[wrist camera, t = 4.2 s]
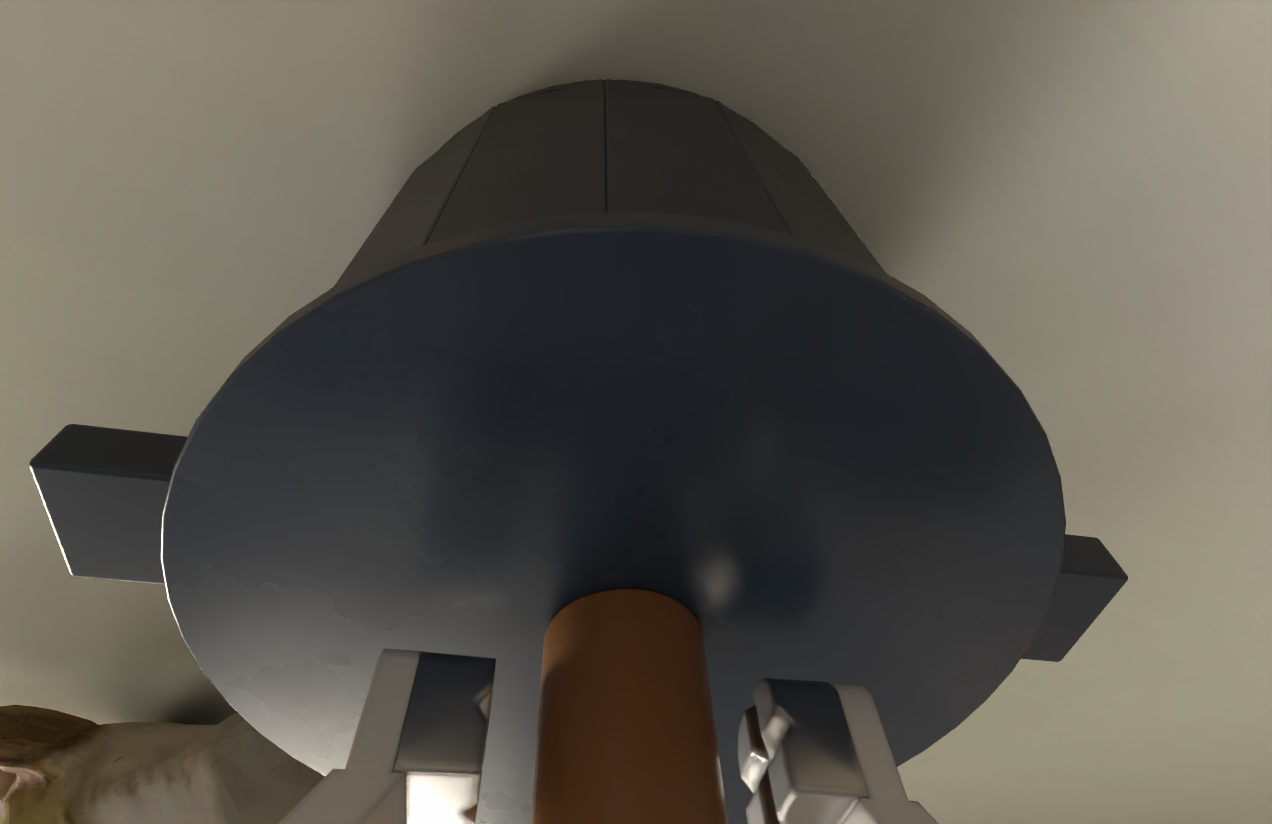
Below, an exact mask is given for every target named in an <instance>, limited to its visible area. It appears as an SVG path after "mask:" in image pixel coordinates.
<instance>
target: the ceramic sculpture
mask: <svg viewBox="0 0 1272 824" xmlns="http://www.w3.org/2000/svg"><path fill="white" fill-rule="evenodd" d="M324 777H325V776H324V775H322V774H320V773H319V772H317V771H315V770H314V769H312V768H310V767H308V766H307V765H305V764H303V763H302V762H300V761H298V760H297V759H295V758H293V757H292V756H290V755H289V754H288V753H286V752H285V751H284V750H282V749H281V748H280V747H278V746H277V745H275V744H274V743H273V742H271V741H270V740H269V739H267V738H266V737H265V736H263V735H262V734H260V733H259V732H258V731H257V730H256V729H255V728H254V727H253V726H252V725H251V724H250V723H248V722H247V721H246V720H245V719H244V718H243V717H242V716H241V715H240V714H239V713H238V712H236V713H235V714H233V715H231V716H230V717H228V718H227V719H225V720H224V721H222V722H221V723H219V724H218V725H185V724H179V723H161V722H126V723H111V724H103V725H97V724H96V723H94V722H92V721H90V720H87V719H83V718H80V717H77V716H73V715H70V714H66V713H63V712H59V711H55V710H50V709H44V708H39V707H31V706H21V705H11V706H1V707H0V800H2V805H3V806H2V814H1V817H0V824H278V823H279V822H280V821H281V820H282V819H283V818H284V817H285V816H286V815H287V814H288V813H289V812H290V811H291V810H292V809H293V808H294V807H295V806H296V805H297V804H298V803H299V802H300V801H301V800H302V799H303V798H304V797H305V796H306V795H307V794H308V793H309V792H310V791H311V790H312V789H313V788H314V787H315V786H316V785H317V784H318V783H319V782H320V781H321V780H322V779H323V778H324Z"/></svg>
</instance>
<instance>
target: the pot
mask: <svg viewBox="0 0 1272 824" xmlns="http://www.w3.org/2000/svg"><path fill="white" fill-rule="evenodd" d="M616 212H656V213H666V214H676V215H686V216H696V217H706V218H717V219H726V220H730V221H735V222H739V223H743V224H747V225H752V226H756V227H760V228H765V229H769V230H773V231H777V232H782V233H786V234H790V235H794V236H799V237H802V238H804V239H807V240H810V241H812V242H815V243H817V244H820V245H823V246H825V247H828V248H830V249H833V250H835V251H838V252H841V253H843V254H846V255H848V256H851V257H854V258H856V259H859V260H861V261H864V262H867V263H868V264H870V265H872V266H874V267H875V268H877V269H879V270H881V271H882V272H884V273H886V272H885V271H884V270H883V268H882V267H881V266H880V264H879V263H878V262H877V260H876V259H875V258H874V257H873V255H872V254H871V253H870V251H869V250H868V249H867V247H866V246H865V245H864V243H863V242H862V241H861V239H860V238H859V237H858V235H857V234H856V233H855V231H854V230H853V229H852V228H851V226H850V225H849V224H848V222H847V221H846V220H845V218H844V217H843V216H842V214H841V213H840V212H839V210H838V209H837V208H836V206H835V205H834V204H833V203H832V201H831V200H830V199H829V197H828V196H827V195H826V193H825V192H824V191H823V189H822V188H821V187H820V185H819V184H818V183H817V181H816V180H815V179H814V177H813V176H812V175H811V174H810V172H809V171H808V170H807V168H806V167H805V166H804V164H803V163H802V162H801V161H800V160H799V159H798V157H796V156H795V155H793V154H792V153H791V152H789V151H788V150H786V149H785V148H784V147H782V146H781V145H780V144H778V143H777V142H776V141H775V140H774V139H772V138H771V137H770V136H769V135H768V134H766V133H765V132H764V131H763V130H761V129H760V128H759V127H758V126H757V125H755V124H754V123H752V122H751V121H749V120H747V119H746V118H744V117H742V116H741V115H739V114H737V113H736V112H734V111H733V110H731V109H729V108H728V107H726V106H724V105H723V104H721V103H720V102H719V101H714V100H713V99H712V98H707V97H702V96H700V95H698V94H695V93H692V92H689V91H685V90H681V89H677V88H673V87H670V86H666V85H662V84H657V83H648V82H640V81H631V80H611V79H607V80H601V79H600V80H588V81H581V82H575V83H569V84H563V85H557V86H552V87H548V88H545V89H542V90H539V91H536V92H533V93H530V94H526V95H523V96H520V97H517V98H515V99H513V100H511V101H509V102H506V103H502V104H499V105H497V107H492V108H491V109H490V110H488V111H487V112H486V113H485V114H483V115H482V116H480V117H479V118H477V119H476V120H475V121H473V122H472V123H470V124H469V125H467V126H466V127H464V128H463V129H461V130H460V131H459V132H457V133H456V134H455V135H454V136H453V137H452V138H451V139H450V140H449V141H448V142H446V143H445V144H444V145H443V146H442V147H441V148H440V149H439V150H438V151H437V152H436V153H435V154H434V155H432V156H431V157H430V158H429V159H427V160H426V161H425V162H424V163H422V164H421V165H420V166H419V167H417V168H416V169H415V171H414V172H413V173H412V174H411V176H410V177H409V179H408V180H407V182H406V183H405V184H404V186H403V187H402V189H401V190H400V192H399V193H398V195H397V196H396V197H395V199H394V200H393V202H392V203H391V205H390V206H389V208H388V209H387V210H386V212H385V213H384V215H383V216H382V218H381V219H380V221H379V222H378V223H377V225H376V226H375V228H374V229H373V231H372V232H371V234H370V235H369V236H368V238H367V239H366V241H365V242H364V244H363V245H362V247H361V248H360V249H359V251H358V252H357V254H356V255H355V257H354V258H353V260H352V261H351V262H350V264H349V265H348V267H347V268H346V270H345V271H344V273H343V274H342V275H341V277H340V278H339V280H338V281H337V283H336V284H335V286H336V285H338V284H339V283H341V282H342V281H344V280H345V279H347V278H349V277H352V276H354V275H356V274H358V273H360V272H363V271H365V270H367V269H369V268H371V267H373V266H376V265H378V264H380V263H382V262H384V261H387V260H389V259H391V258H393V257H395V256H398V255H400V254H402V253H404V252H406V251H408V250H411V249H413V248H417V247H420V246H423V245H427V244H430V243H433V242H437V241H440V240H443V239H447V238H450V237H453V236H457V235H460V234H463V233H467V232H470V231H473V230H477V229H480V228H483V227H487V226H494V225H500V224H506V223H512V222H519V221H525V220H531V219H537V218H544V217H550V216H556V215H562V214H583V213H616ZM335 286H334V287H335ZM187 438H188V437H185V436H176V435H167V434H158V433H149V432H140V431H131V430H122V429H113V428H104V427H96V426H87V425H78V424H70V425H67V426H65V427H64V428H63V429H62V430H61V431H60V432H59V433H58V434H57V435H56V436H55V437H54V438H53V439H52V440H51V441H50V442H49V443H48V444H47V445H46V446H45V447H44V448H43V449H42V450H41V451H40V452H39V453H38V454H37V455H36V456H35V457H34V458H33V459H32V460H31V461H30V464H29V467H30V470H31V473H32V475H33V478H34V480H35V483H36V486H37V488H38V491H39V493H40V496H41V499H42V501H43V504H44V506H45V509H46V512H47V514H48V517H49V520H50V522H51V525H52V527H53V530H54V533H55V535H56V538H57V540H58V543H59V546H60V548H61V551H62V553H63V556H64V559H65V561H66V564H67V566H68V569H69V572H70V574H71V575H72V576H75V577H83V578H94V579H106V580H118V581H129V582H141V583H153V584H164V585H165V580H164V574H163V568H162V563H161V536H162V511H163V507H164V503H165V499H166V495H167V491H168V487H169V483H170V479H171V475H172V471H173V467H174V465H175V463H176V460H177V458H178V456H179V454H180V452H181V450H182V448H183V446H184V444H185V442H186V440H187ZM1127 580H1128V576H1127V575H1126V573H1125V572H1124V571H1123V569H1122V568H1121V567H1120V566H1119V564H1118V563H1117V562H1116V560H1115V559H1114V558H1113V557H1112V555H1111V554H1110V553H1109V551H1108V550H1107V549H1106V547H1105V546H1104V545H1103V544H1102V542H1101V541H1100V540H1099V539H1098V538H1094V537H1085V536H1076V535H1067V534H1065V539H1064V550H1063V562H1062V566H1061V570H1060V574H1059V577H1058V581H1057V584H1056V588H1055V591H1054V595H1053V599H1052V602H1051V604H1050V606H1049V608H1048V610H1047V613H1046V615H1045V617H1044V619H1043V621H1042V623H1041V625H1040V627H1039V629H1038V632H1037V634H1036V636H1035V638H1034V639H1033V641H1032V642H1031V644H1030V645H1029V647H1028V648H1027V650H1026V651H1025V653H1024V654H1023V656H1022V657H1021V659H1031V660H1043V661H1054V662H1059V661H1061V660H1062V659H1063V658H1064V656H1065V655H1066V654H1067V653H1068V651H1069V650H1070V649H1071V648H1072V647H1073V645H1074V644H1075V643H1076V642H1077V641H1078V639H1079V638H1080V637H1081V636H1082V635H1083V633H1084V632H1085V631H1086V630H1087V629H1088V627H1089V626H1090V625H1091V624H1092V622H1093V621H1094V620H1095V619H1096V618H1097V616H1098V615H1099V614H1100V613H1101V612H1102V610H1103V609H1104V608H1105V607H1106V606H1107V604H1108V603H1109V602H1110V601H1111V599H1112V598H1113V597H1114V596H1115V595H1116V593H1117V592H1118V591H1119V590H1120V589H1121V587H1122V586H1123V585H1124V584H1125V583H1126V581H1127Z"/></svg>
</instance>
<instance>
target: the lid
mask: <svg viewBox="0 0 1272 824" xmlns="http://www.w3.org/2000/svg"><path fill="white" fill-rule="evenodd" d="M1065 527H1066V519H1065V510H1064V502H1063V493H1062V485H1061V477H1060V474H1059V471H1058V468H1057V465H1056V462H1055V459H1054V456H1053V453H1052V450H1051V447H1050V444H1049V441H1048V438H1047V435H1046V433H1045V431H1044V429H1043V427H1042V426H1041V424H1040V422H1039V421H1038V419H1037V417H1036V415H1035V414H1034V412H1033V410H1032V409H1031V407H1030V405H1029V403H1028V402H1027V400H1026V398H1025V396H1024V395H1023V393H1022V391H1021V390H1020V389H1019V387H1018V386H1017V385H1016V384H1015V383H1014V382H1013V380H1012V379H1011V378H1010V377H1009V376H1008V375H1007V373H1006V372H1005V371H1004V370H1003V369H1002V368H1001V367H1000V365H999V364H998V363H997V362H996V361H995V360H994V359H993V357H992V356H991V355H990V354H989V353H988V352H987V351H986V349H985V348H984V347H983V346H982V345H981V344H980V343H979V341H978V340H977V339H976V338H975V337H974V336H973V335H972V333H971V332H969V331H968V330H967V329H966V328H964V327H963V326H962V325H961V324H959V323H958V322H957V321H956V320H954V319H953V318H952V317H951V316H949V315H948V314H947V313H946V312H945V311H943V310H942V309H941V308H940V307H938V306H937V305H936V304H935V303H933V302H932V301H931V300H930V299H928V298H927V297H926V296H925V295H923V294H921V293H920V292H918V291H916V290H914V289H912V288H911V287H909V286H907V285H905V284H904V283H902V282H900V281H898V280H897V279H895V278H893V277H891V276H890V275H888V274H886V273H884V272H882V271H881V270H879V269H877V268H875V267H874V266H872V265H870V264H868V263H867V262H864V261H861V260H859V259H856V258H854V257H851V256H848V255H846V254H843V253H841V252H838V251H835V250H833V249H830V248H828V247H825V246H823V245H820V244H817V243H815V242H812V241H810V240H807V239H804V238H802V237H799V236H794V235H790V234H786V233H782V232H777V231H773V230H769V229H765V228H760V227H756V226H752V225H747V224H743V223H739V222H735V221H730V220H726V219H717V218H706V217H696V216H686V215H676V214H666V213H656V212H616V213H583V214H562V215H556V216H550V217H544V218H537V219H531V220H525V221H519V222H512V223H506V224H500V225H494V226H487V227H483V228H480V229H477V230H473V231H470V232H467V233H463V234H460V235H457V236H453V237H450V238H447V239H443V240H440V241H437V242H433V243H430V244H427V245H423V246H420V247H417V248H413V249H411V250H408V251H406V252H404V253H402V254H400V255H398V256H395V257H393V258H391V259H389V260H387V261H384V262H382V263H380V264H378V265H376V266H373V267H371V268H369V269H367V270H365V271H363V272H360V273H358V274H356V275H354V276H352V277H349V278H347V279H345V280H344V281H342V282H341V283H339V284H338V285H336V286H335V287H333V288H332V289H330V290H328V291H327V292H325V293H324V294H322V295H321V296H319V297H318V298H316V299H315V300H313V301H312V302H310V303H309V304H307V305H306V306H304V307H302V308H301V309H299V310H298V311H296V312H295V313H293V314H292V315H290V316H289V317H288V318H287V319H286V320H285V321H283V322H282V323H281V324H280V325H279V326H278V327H277V328H276V329H275V330H274V331H273V332H271V333H270V334H269V335H268V336H267V337H266V338H265V339H264V340H263V341H262V342H261V343H259V344H258V345H257V346H256V347H255V348H254V349H253V350H252V351H251V352H250V353H249V354H247V355H246V356H245V357H244V358H243V360H242V361H241V362H240V363H239V365H238V366H237V367H236V369H235V370H234V371H233V372H232V374H231V375H230V376H229V378H228V379H227V380H226V382H225V383H224V384H223V385H222V387H221V388H220V389H219V391H218V392H217V393H216V395H215V396H214V397H213V399H212V400H211V401H210V403H209V404H208V405H207V407H206V408H205V409H204V410H203V412H202V413H201V414H200V416H199V417H198V418H197V420H196V422H195V424H194V426H193V428H192V430H191V432H190V434H189V436H188V438H187V440H186V442H185V444H184V446H183V448H182V450H181V452H180V454H179V456H178V458H177V460H176V463H175V465H174V467H173V471H172V475H171V479H170V483H169V487H168V491H167V495H166V499H165V503H164V507H163V511H162V536H161V563H162V568H163V574H164V580H165V585H166V591H167V597H168V601H169V604H170V606H171V609H172V612H173V614H174V617H175V619H176V622H177V625H178V627H179V630H180V632H181V635H182V638H183V640H184V641H185V643H186V645H187V646H188V648H189V650H190V651H191V653H192V655H193V656H194V658H195V660H196V661H197V663H198V665H199V666H200V668H201V670H202V671H203V673H204V674H205V676H206V677H207V678H208V679H209V680H210V682H211V683H212V684H213V685H214V687H215V688H216V689H217V690H218V691H219V693H220V694H221V695H222V696H223V698H224V699H225V700H226V701H227V702H228V704H229V705H230V706H231V707H232V708H233V709H235V710H236V711H237V712H238V713H239V714H240V715H241V716H242V717H243V718H244V719H245V720H246V721H247V722H248V723H250V724H251V725H252V726H253V727H254V728H255V729H256V730H257V731H258V732H259V733H260V734H262V735H263V736H265V737H266V738H267V739H269V740H270V741H271V742H273V743H274V744H275V745H277V746H278V747H280V748H281V749H282V750H284V751H285V752H286V753H288V754H289V755H290V756H292V757H293V758H295V759H297V760H298V761H300V762H302V763H303V764H305V765H307V766H308V767H310V768H312V769H314V770H315V771H317V772H319V773H320V774H322V775H324V776H326V775H327V774H328V773H329V772H330V771H331V770H332V769H345V768H346V764H347V761H348V758H349V754H350V751H351V747H352V744H353V741H354V737H355V734H356V731H357V727H358V724H359V720H360V717H361V714H362V710H363V707H364V704H365V700H366V697H367V693H368V690H369V687H370V683H371V680H372V677H373V673H374V670H375V666H376V663H377V660H378V658H379V656H380V654H381V652H382V651H383V649H384V648H387V649H400V650H414V651H423V652H432V653H443V654H454V655H465V656H476V657H487V658H496V667H495V677H494V685H493V695H492V703H491V711H490V719H489V727H488V734H487V742H486V749H485V757H484V763H483V765H482V778H481V786H480V794H479V801H478V808H477V815H476V822H475V824H748V820H747V814H746V808H747V806H748V804H749V802H750V800H751V798H752V796H753V795H754V794H753V792H752V791H751V790H750V789H749V787H748V786H747V785H746V783H745V782H744V781H743V780H742V778H741V776H740V769H739V762H738V746H737V742H738V734H739V726H740V722H741V720H742V717H743V715H744V712H745V710H747V709H749V708H750V707H752V706H754V705H756V703H755V697H754V690H755V688H756V686H757V684H758V682H759V681H761V680H762V679H764V678H770V679H787V680H804V681H821V682H828V683H834V684H851V685H861V686H865V687H866V688H867V689H868V690H869V692H870V693H871V695H872V697H873V700H874V703H875V706H876V709H877V712H878V715H879V718H880V721H881V723H882V726H883V729H884V732H885V735H886V738H887V741H888V744H889V747H890V749H891V752H892V755H893V758H894V761H895V764H896V767H898V766H899V765H901V764H903V763H904V762H906V761H908V760H909V759H911V758H913V757H914V756H916V755H918V754H919V753H921V752H923V751H924V750H926V749H927V748H928V747H930V746H931V745H932V744H934V743H935V742H937V741H938V740H939V739H941V738H942V737H943V736H945V735H946V734H948V733H949V732H950V731H952V730H953V729H954V728H956V727H957V726H958V725H959V724H960V723H961V722H963V721H964V720H965V719H966V718H967V717H968V716H969V715H970V714H972V713H973V712H974V711H975V710H976V709H977V708H978V707H979V706H980V705H982V704H983V703H984V702H985V701H986V700H987V699H988V698H989V697H990V695H991V694H992V693H993V692H994V691H995V690H996V689H997V687H998V686H999V685H1000V684H1001V683H1002V682H1003V681H1004V680H1005V678H1006V677H1007V676H1008V675H1009V674H1010V673H1011V672H1012V670H1013V669H1014V668H1015V666H1016V665H1017V663H1018V662H1019V660H1020V659H1021V657H1022V656H1023V654H1024V653H1025V651H1026V650H1027V648H1028V647H1029V645H1030V644H1031V642H1032V641H1033V639H1034V638H1035V636H1036V634H1037V632H1038V629H1039V627H1040V625H1041V623H1042V621H1043V619H1044V617H1045V615H1046V613H1047V610H1048V608H1049V606H1050V604H1051V602H1052V599H1053V595H1054V591H1055V588H1056V584H1057V581H1058V577H1059V574H1060V570H1061V566H1062V562H1063V550H1064V539H1065Z"/></svg>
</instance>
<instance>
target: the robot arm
mask: <svg viewBox="0 0 1272 824" xmlns="http://www.w3.org/2000/svg"><path fill="white" fill-rule="evenodd" d="M495 667H496V658H487V657H476V656H465V655H454V654H443V653H432V652H423V651H414V650H400V649H387V648H384V649H383V651H382V652H381V654H380V656H379V658H378V660H377V663H376V666H375V670H374V673H373V677H372V680H371V683H370V687H369V690H368V693H367V697H366V700H365V704H364V707H363V710H362V714H361V717H360V720H359V724H358V727H357V731H356V734H355V737H354V741H353V744H352V747H351V751H350V754H349V758H348V761H347V764H346V768H345V769H332V770H331V771H330V772H329V773H328V774H327V775H326V776H325V777H324V778H323V779H322V780H321V781H320V782H319V783H318V784H317V785H316V786H315V787H314V788H313V789H312V790H311V791H310V792H309V793H308V794H307V795H306V796H305V797H304V798H303V799H302V800H301V801H300V802H299V803H298V804H297V805H296V806H295V807H294V808H293V809H292V810H291V811H290V812H289V813H288V814H287V815H286V816H285V817H284V818H283V819H282V820H281V821H280V822H279V823H278V824H475V822H476V815H477V808H478V801H479V794H480V786H481V778H482V765H483V763H484V757H485V749H486V742H487V734H488V727H489V719H490V711H491V703H492V695H493V685H494V677H495ZM754 697H755V703H756V705H754V706H752V707H750V708H749V709H747V710H745V712H744V715H743V717H742V720H741V722H740V726H739V734H738V742H737V746H738V762H739V769H740V776H741V778H742V780H743V781H744V782H745V783H746V785H747V786H748V787H749V789H750V790H751V791H752V792H753V794H754V795H753V796H752V798H751V800H750V802H749V804H748V806H747V808H746V814H747V820H748V824H938V822H937V821H936V820H935V819H934V818H933V817H932V816H931V815H930V814H929V813H928V812H927V811H926V809H925V808H924V807H923V806H922V805H921V804H920V803H919V802H915V801H908V798H907V796H906V793H905V790H904V787H903V784H902V781H901V778H900V775H899V772H898V770H897V767H896V764H895V761H894V758H893V755H892V752H891V749H890V747H889V744H888V741H887V738H886V735H885V732H884V729H883V726H882V723H881V721H880V718H879V715H878V712H877V709H876V706H875V703H874V700H873V697H872V695H871V693H870V692H869V690H868V689H867V688H866V687H865V686H861V685H851V684H834V683H828V682H821V681H804V680H787V679H770V678H764V679H762V680H761V681H759V682H758V684H757V686H756V688H755V690H754Z"/></svg>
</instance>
